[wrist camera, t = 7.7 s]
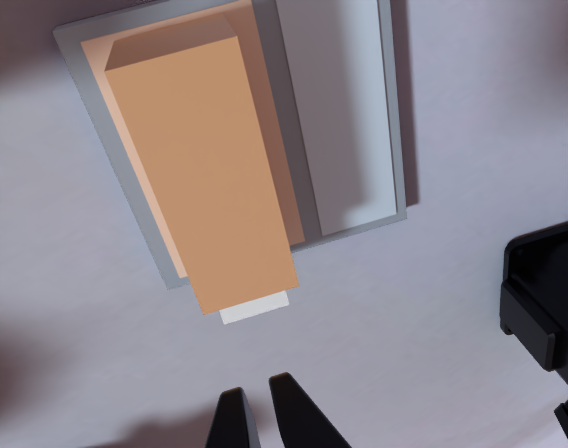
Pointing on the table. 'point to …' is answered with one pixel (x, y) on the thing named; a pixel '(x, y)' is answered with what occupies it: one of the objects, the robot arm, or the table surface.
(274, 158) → the picture board
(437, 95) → the table surface
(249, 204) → the orange rectangular block
